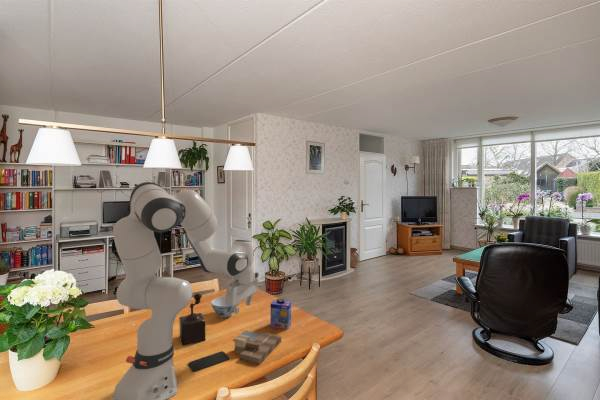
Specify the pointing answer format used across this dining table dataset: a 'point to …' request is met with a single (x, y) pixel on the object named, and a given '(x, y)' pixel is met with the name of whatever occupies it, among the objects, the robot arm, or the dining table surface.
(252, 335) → the slate pad
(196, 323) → the coffee grinder
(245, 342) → the marking gauge
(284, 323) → the ink cartridge box
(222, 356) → the phone
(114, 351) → the dining table surface
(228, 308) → the chinaware
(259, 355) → the walnut board
